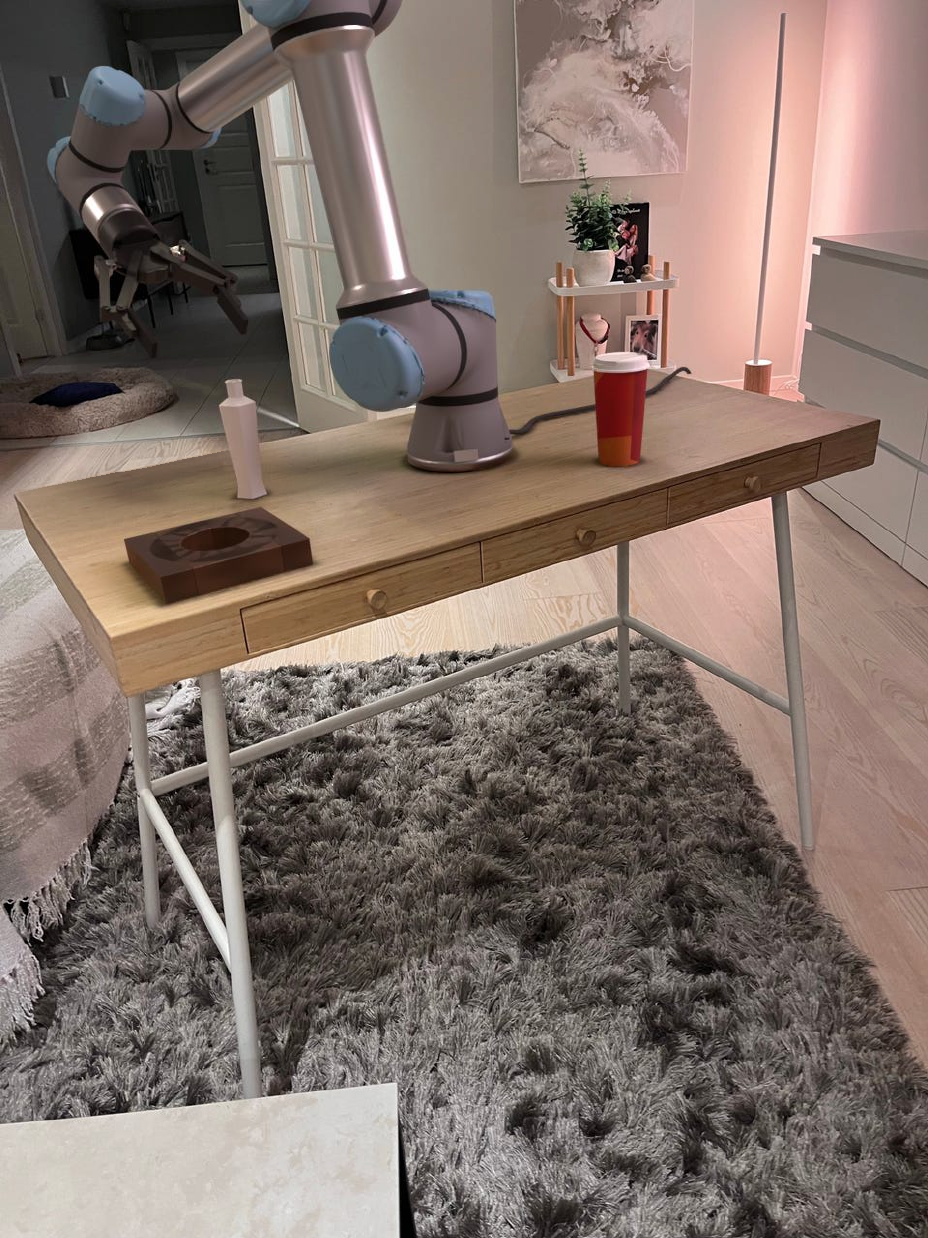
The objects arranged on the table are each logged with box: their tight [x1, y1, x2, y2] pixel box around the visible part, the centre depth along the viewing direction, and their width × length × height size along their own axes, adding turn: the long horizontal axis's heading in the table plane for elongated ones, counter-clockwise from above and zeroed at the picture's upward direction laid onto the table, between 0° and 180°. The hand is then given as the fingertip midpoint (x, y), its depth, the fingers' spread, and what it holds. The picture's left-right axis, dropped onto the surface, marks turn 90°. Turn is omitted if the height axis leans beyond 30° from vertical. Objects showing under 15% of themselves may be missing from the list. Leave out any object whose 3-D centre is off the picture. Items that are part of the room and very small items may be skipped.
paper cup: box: [590, 351, 651, 467], centre depth 126 cm, size 8×8×14 cm
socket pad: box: [123, 506, 314, 605], centre depth 102 cm, size 16×14×3 cm
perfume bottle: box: [218, 378, 268, 500], centre depth 122 cm, size 5×4×15 cm
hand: (201, 338), depth 126 cm, fingers open, 13 cm apart
